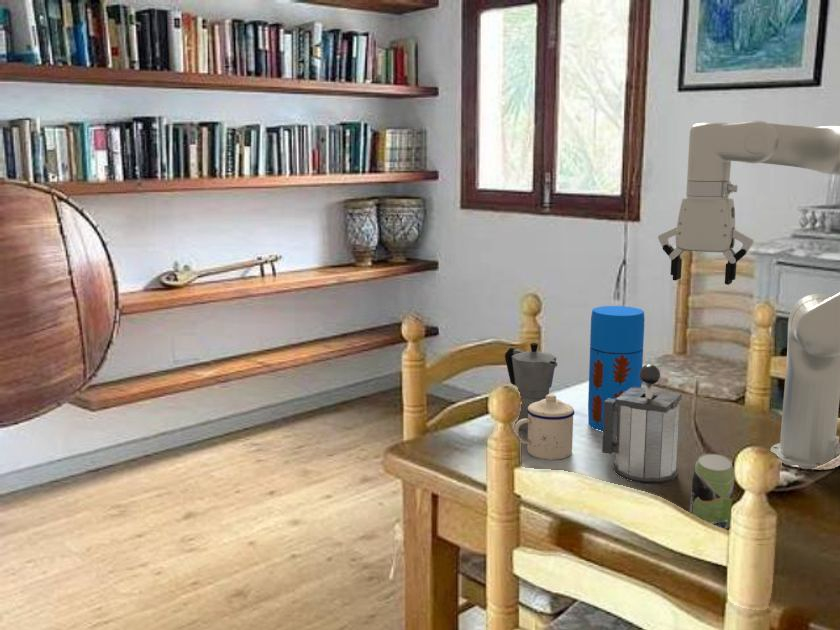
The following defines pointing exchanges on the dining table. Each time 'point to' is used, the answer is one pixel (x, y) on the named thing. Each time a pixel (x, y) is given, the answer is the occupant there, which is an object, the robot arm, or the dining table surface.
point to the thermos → (613, 356)
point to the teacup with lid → (549, 428)
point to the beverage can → (712, 489)
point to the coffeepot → (530, 376)
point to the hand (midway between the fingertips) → (702, 281)
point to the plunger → (649, 378)
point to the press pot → (642, 434)
